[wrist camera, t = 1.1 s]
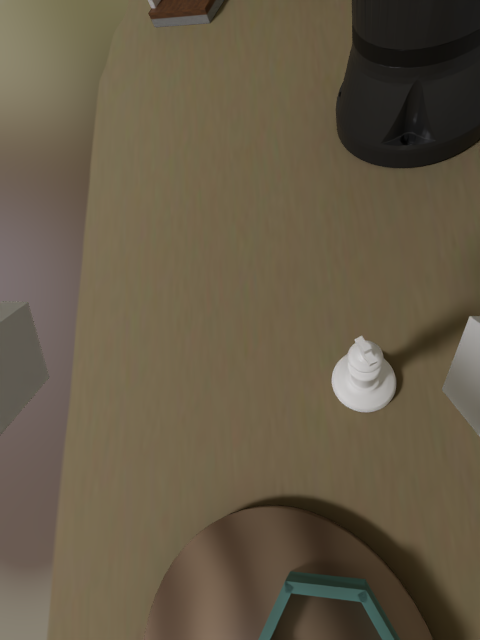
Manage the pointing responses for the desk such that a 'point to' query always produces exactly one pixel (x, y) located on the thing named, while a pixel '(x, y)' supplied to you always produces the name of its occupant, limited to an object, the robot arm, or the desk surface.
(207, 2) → the spiral staircase model
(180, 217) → the desk surface
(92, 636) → the desk surface
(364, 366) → the chess piece
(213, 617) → the carrier
